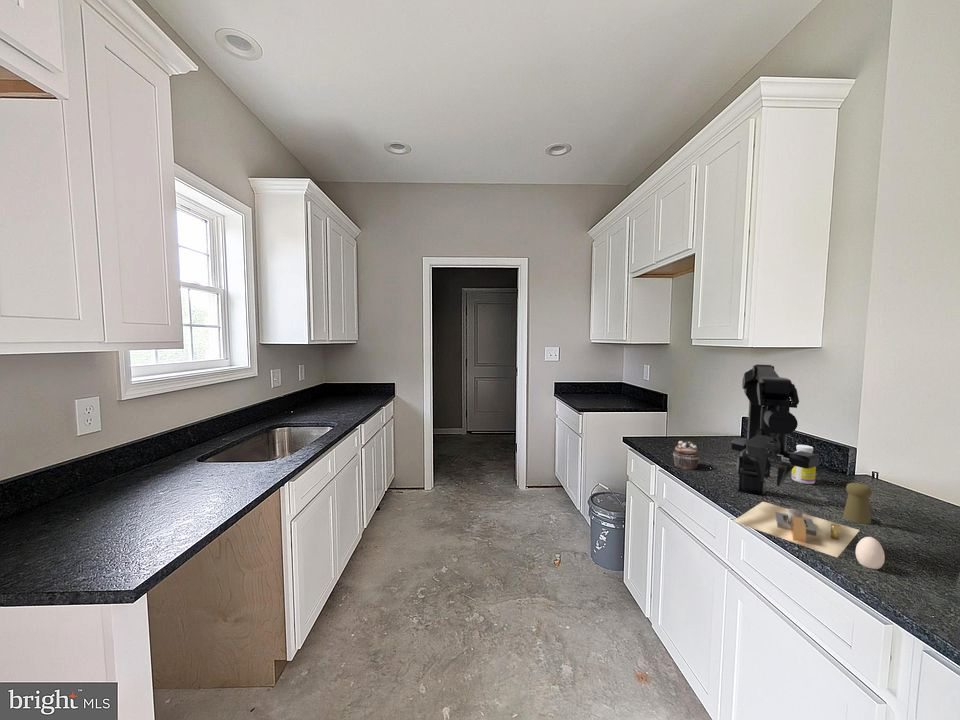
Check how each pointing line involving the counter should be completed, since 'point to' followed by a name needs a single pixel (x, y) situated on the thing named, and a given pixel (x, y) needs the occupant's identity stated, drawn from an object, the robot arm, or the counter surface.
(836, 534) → the dowel pin
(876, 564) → the egg
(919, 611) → the counter surface
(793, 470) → the supplement bottle
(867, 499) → the cork
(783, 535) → the board
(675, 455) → the cupcake
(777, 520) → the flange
